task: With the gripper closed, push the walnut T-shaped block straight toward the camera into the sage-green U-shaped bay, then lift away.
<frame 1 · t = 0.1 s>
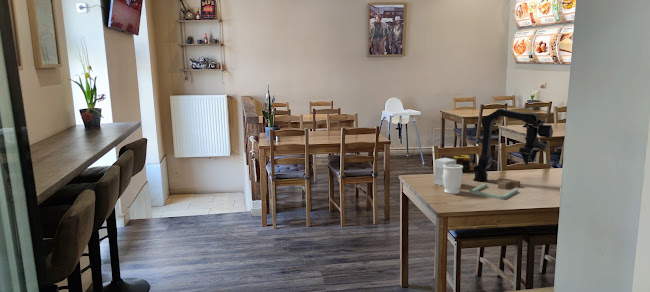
hand: (529, 163, 268), 15 cm above the table, fingers open, 9 cm apart
bay: (493, 192, 263), on the table
t block: (505, 186, 275), on the table
supplement box: (444, 184, 281), on the table
jar: (451, 192, 265), on the table
yellow and brown box: (461, 171, 314), on the table
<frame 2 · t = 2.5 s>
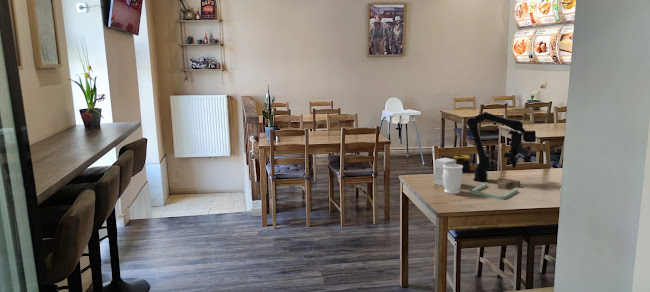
hand: (514, 167, 282), 9 cm above the table, fingers closed
nothing on the table moved.
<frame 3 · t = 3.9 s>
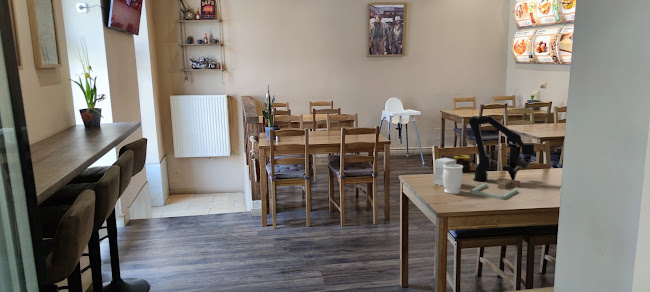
hand: (513, 180, 283), 1 cm above the table, fingers closed
nothing on the table moved.
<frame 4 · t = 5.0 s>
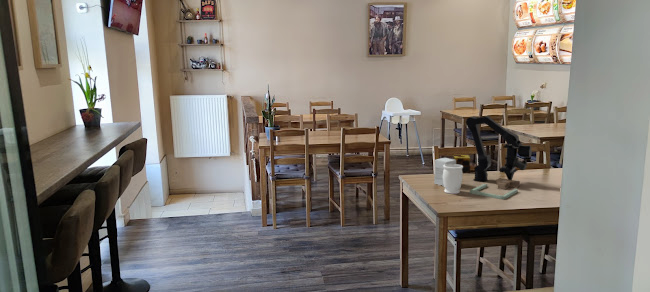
hand: (510, 181, 279), 2 cm above the table, fingers closed
t block: (505, 186, 275), on the table, touching gripper
everything else where it was.
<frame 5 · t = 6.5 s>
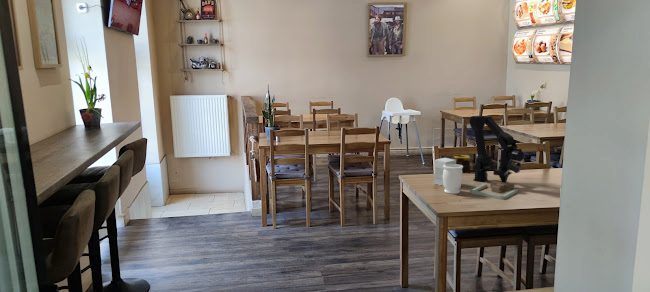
hand: (504, 184, 273), 2 cm above the table, fingers closed
t block: (499, 189, 268), on the table, touching gripper
everything else where it was.
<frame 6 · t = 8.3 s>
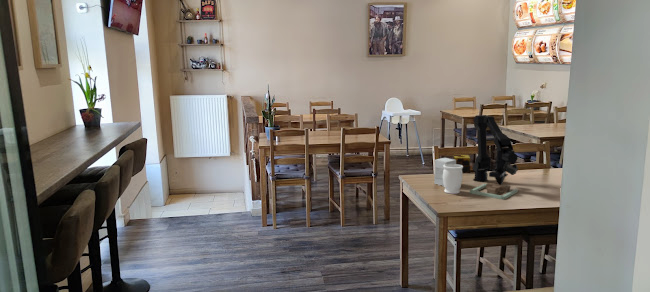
hand: (500, 186, 269), 2 cm above the table, fingers closed
t block: (495, 192, 264), on the table, touching gripper
everything else where it was.
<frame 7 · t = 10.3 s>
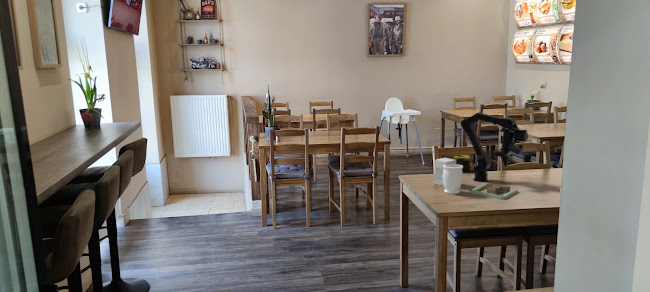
hand: (506, 166, 278), 11 cm above the table, fingers closed
t block: (494, 192, 264), on the table
everything else where it was.
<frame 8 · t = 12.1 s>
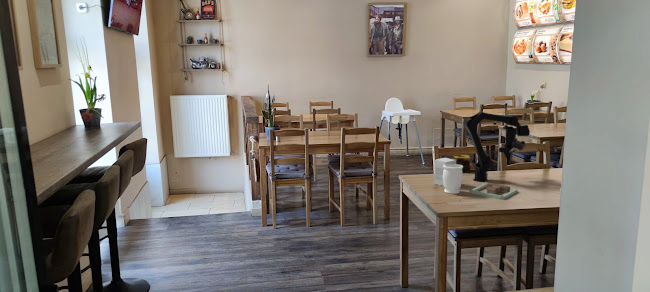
hand: (509, 162, 288), 11 cm above the table, fingers closed
nothing on the table moved.
at the end: t block 1.3 cm off-centre on the bay, point 0.0 cm above the bay's base; t block tilted 0° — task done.
